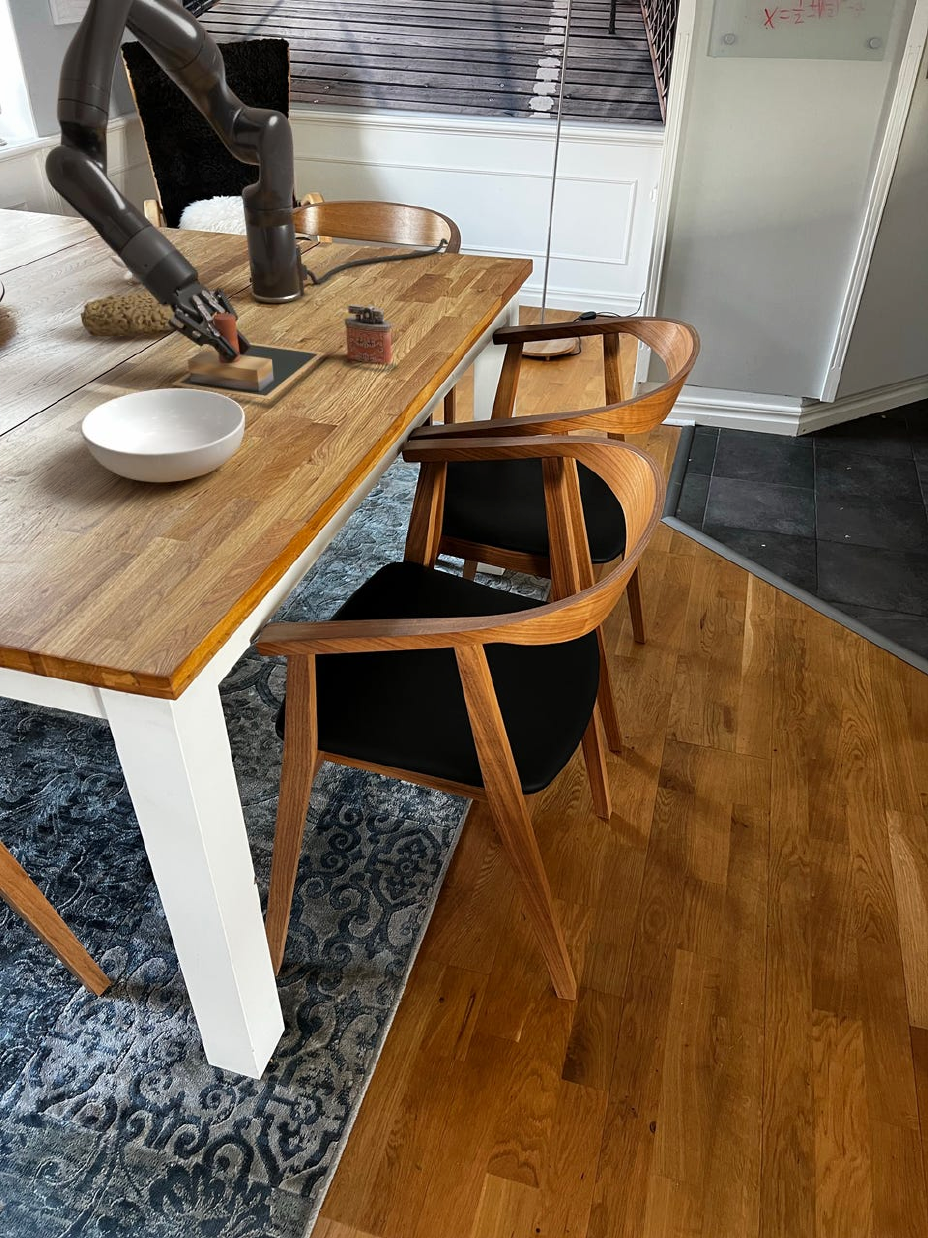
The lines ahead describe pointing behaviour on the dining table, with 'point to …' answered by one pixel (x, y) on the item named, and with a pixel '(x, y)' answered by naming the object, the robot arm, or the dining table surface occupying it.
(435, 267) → the dining table surface
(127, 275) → the rabbit figurine
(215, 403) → the serving bowl
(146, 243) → the robot arm
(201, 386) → the board
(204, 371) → the eraser
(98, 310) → the sponge
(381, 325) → the lighter
